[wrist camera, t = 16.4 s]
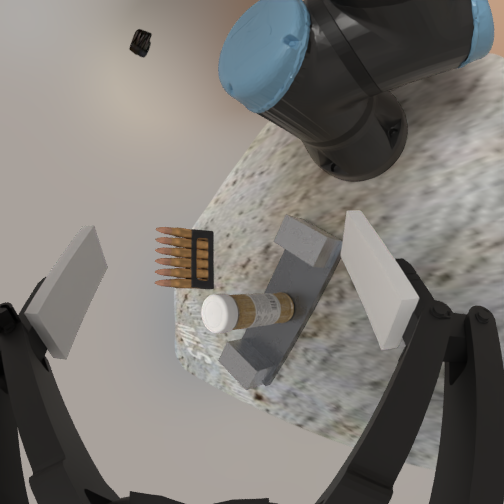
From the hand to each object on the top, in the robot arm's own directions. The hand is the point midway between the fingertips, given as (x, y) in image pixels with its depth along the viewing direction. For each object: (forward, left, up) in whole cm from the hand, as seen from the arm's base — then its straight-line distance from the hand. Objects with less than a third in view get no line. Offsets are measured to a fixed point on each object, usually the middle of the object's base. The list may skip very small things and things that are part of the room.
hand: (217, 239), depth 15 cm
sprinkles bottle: (+1, -16, -27) cm, 31 cm away
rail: (0, -16, -28) cm, 32 cm away
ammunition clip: (-13, -30, -28) cm, 43 cm away
